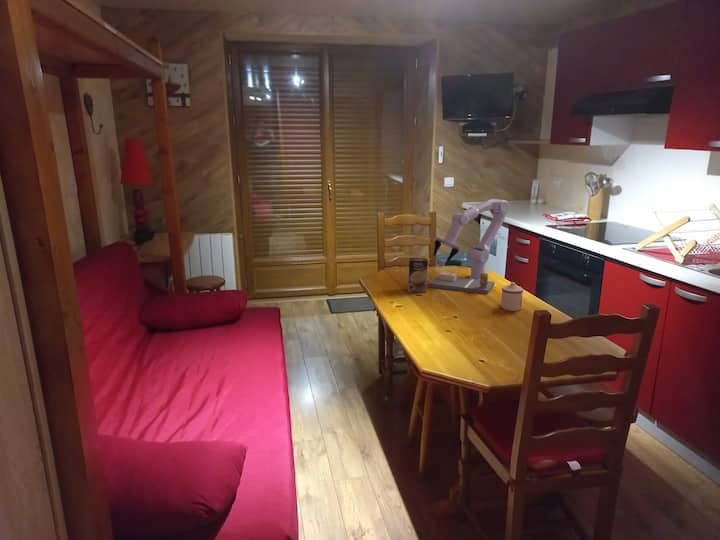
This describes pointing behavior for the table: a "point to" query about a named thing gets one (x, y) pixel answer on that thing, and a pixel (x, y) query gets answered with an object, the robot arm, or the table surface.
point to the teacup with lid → (511, 297)
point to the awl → (483, 280)
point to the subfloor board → (461, 285)
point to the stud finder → (447, 276)
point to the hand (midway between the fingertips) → (440, 258)
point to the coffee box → (417, 275)
